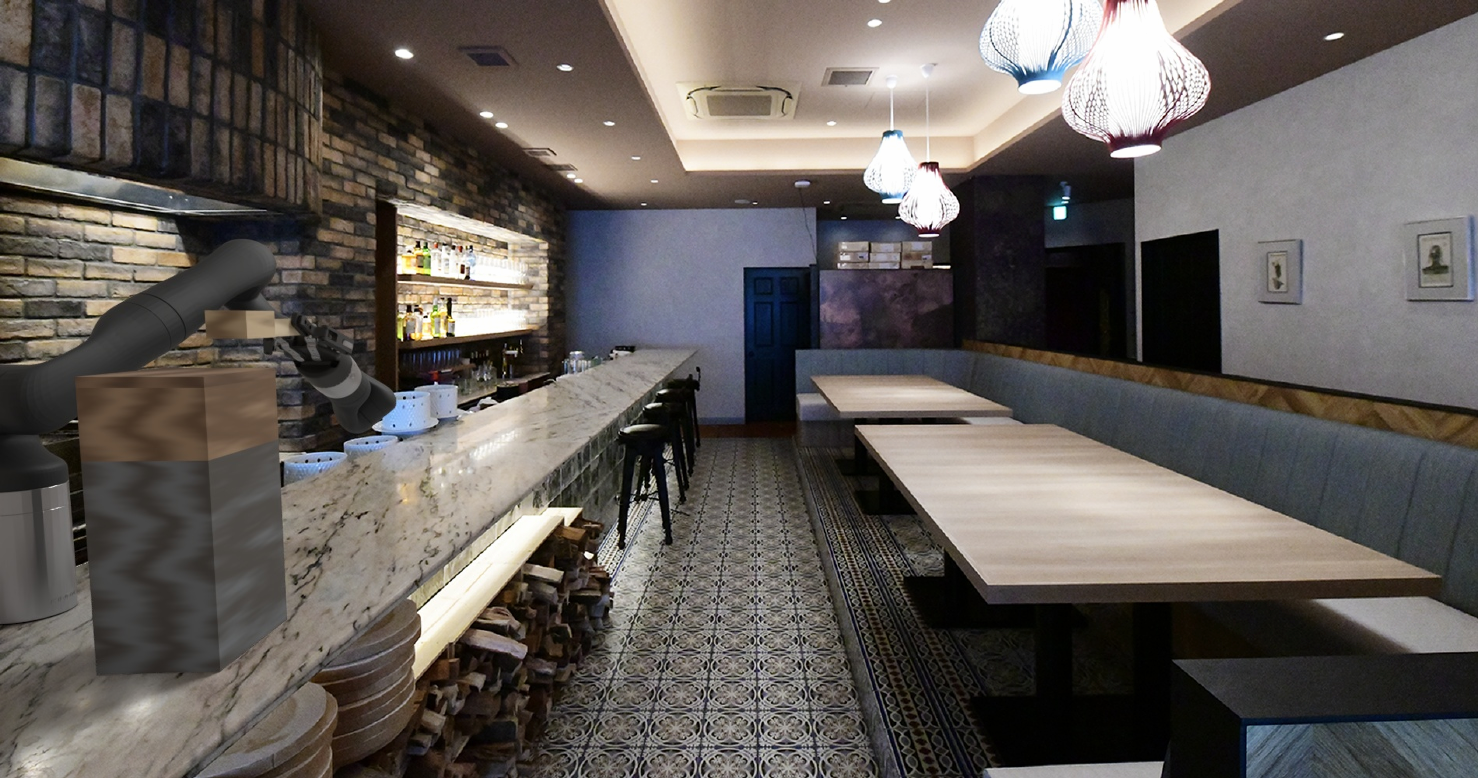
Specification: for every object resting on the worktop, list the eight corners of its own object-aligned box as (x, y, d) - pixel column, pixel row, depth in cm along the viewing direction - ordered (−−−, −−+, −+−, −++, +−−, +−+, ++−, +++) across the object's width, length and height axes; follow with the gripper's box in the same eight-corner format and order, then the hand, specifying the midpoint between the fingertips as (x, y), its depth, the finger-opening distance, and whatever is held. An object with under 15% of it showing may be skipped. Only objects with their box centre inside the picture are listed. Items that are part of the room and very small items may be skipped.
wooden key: (206, 338, 98) (204, 310, 97) (285, 334, 117) (283, 310, 117) (247, 338, 98) (245, 310, 98) (318, 334, 118) (317, 311, 117)
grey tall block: (96, 675, 84) (74, 376, 81) (182, 621, 99) (167, 367, 96) (220, 671, 85) (203, 376, 82) (287, 618, 100) (275, 367, 97)
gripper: (290, 348, 128) (236, 294, 112) (376, 348, 129) (335, 295, 113) (280, 389, 125) (224, 339, 109) (369, 389, 126) (326, 340, 110)
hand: (281, 317), depth 111 cm, fingers closed on wooden key, 3 cm apart
